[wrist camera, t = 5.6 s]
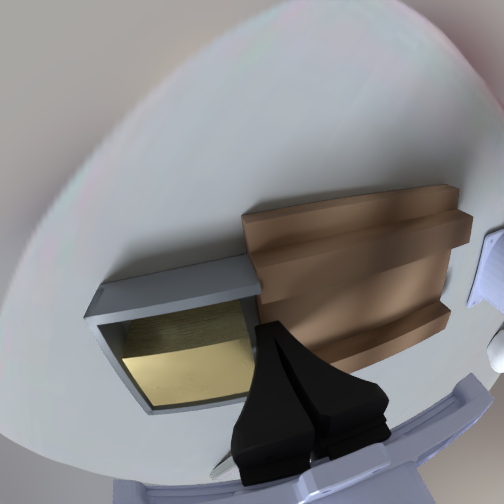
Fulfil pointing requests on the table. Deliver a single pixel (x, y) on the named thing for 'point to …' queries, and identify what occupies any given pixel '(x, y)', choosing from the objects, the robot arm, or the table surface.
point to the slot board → (360, 292)
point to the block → (191, 354)
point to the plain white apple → (497, 352)
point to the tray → (168, 301)
